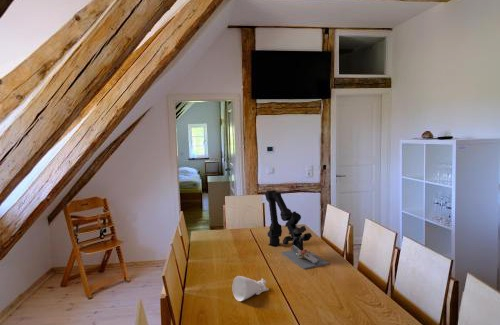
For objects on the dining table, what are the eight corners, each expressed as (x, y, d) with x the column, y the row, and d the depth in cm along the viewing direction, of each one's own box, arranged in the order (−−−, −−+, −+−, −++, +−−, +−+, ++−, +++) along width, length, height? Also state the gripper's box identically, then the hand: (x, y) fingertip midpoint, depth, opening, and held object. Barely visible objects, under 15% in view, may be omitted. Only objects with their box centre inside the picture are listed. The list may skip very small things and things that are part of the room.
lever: (294, 254, 204) (303, 249, 194) (298, 253, 205) (307, 248, 195) (295, 257, 203) (304, 252, 193) (299, 256, 204) (308, 252, 194)
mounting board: (281, 253, 215) (281, 252, 215) (303, 249, 222) (304, 247, 222) (304, 269, 189) (304, 267, 189) (329, 264, 196) (329, 262, 196)
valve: (289, 251, 216) (289, 244, 216) (297, 250, 218) (297, 243, 218) (311, 266, 192) (311, 258, 192) (320, 264, 195) (320, 256, 194)
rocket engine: (268, 269, 167) (241, 271, 157) (277, 290, 160) (249, 293, 149) (257, 281, 173) (229, 283, 162) (265, 301, 166) (237, 305, 155)
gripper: (284, 223, 197) (294, 246, 188) (309, 220, 205) (320, 241, 195) (278, 233, 205) (287, 255, 196) (303, 229, 213) (313, 250, 203)
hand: (302, 250), depth 197 cm, fingers closed, pressing on lever
